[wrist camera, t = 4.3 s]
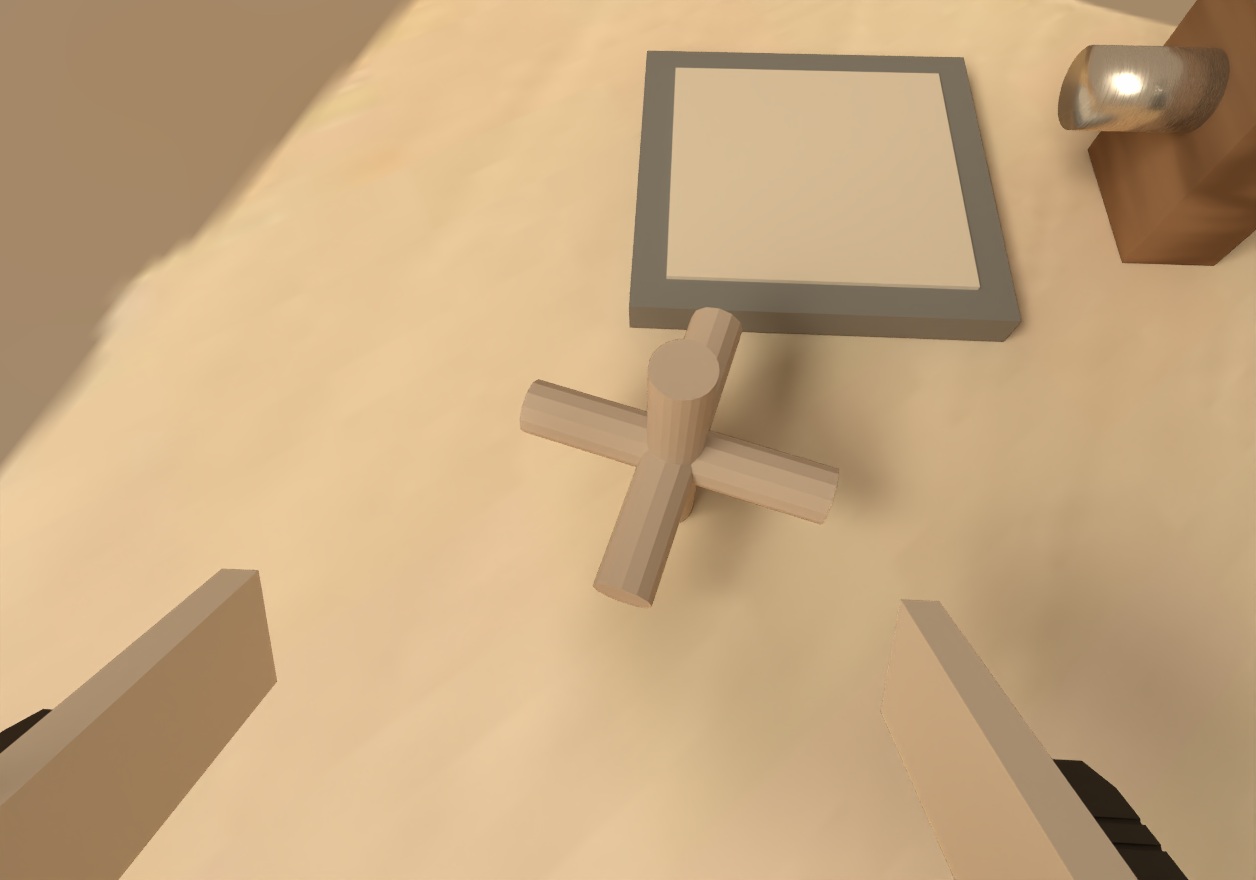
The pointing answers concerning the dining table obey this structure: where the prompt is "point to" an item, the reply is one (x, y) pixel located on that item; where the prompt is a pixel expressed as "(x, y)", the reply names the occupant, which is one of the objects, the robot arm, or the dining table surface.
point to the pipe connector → (674, 453)
